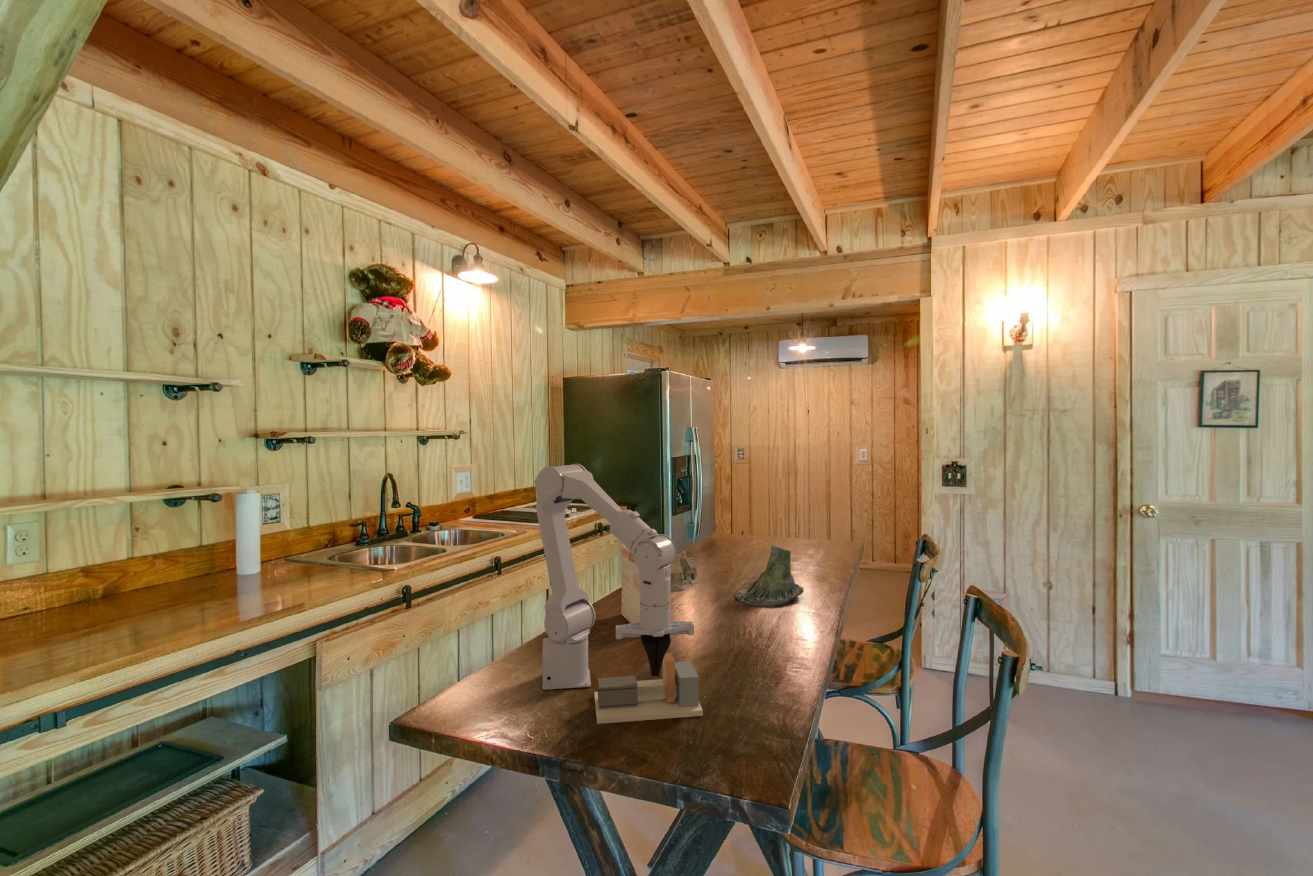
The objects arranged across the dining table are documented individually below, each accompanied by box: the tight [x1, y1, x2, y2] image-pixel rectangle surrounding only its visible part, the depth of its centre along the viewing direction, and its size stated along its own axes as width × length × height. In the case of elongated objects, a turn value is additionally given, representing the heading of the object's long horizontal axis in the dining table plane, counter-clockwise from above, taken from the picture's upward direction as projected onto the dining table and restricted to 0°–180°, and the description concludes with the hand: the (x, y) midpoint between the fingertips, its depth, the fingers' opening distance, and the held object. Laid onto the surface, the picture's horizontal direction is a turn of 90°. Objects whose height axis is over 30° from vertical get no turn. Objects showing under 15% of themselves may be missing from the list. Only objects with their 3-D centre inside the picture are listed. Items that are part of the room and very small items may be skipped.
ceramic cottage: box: [667, 551, 699, 593], centre depth 189 cm, size 16×16×15 cm
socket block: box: [675, 660, 700, 708], centre depth 110 cm, size 4×7×6 cm, turn 9°
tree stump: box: [735, 545, 805, 608], centre depth 176 cm, size 18×20×18 cm
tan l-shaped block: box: [636, 652, 678, 703], centre depth 109 cm, size 12×4×8 cm, turn 99°
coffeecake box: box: [621, 543, 640, 624], centre depth 154 cm, size 15×7×20 cm, turn 22°
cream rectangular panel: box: [593, 675, 704, 725], centre depth 109 cm, size 19×10×5 cm, turn 99°
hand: (654, 674), depth 109 cm, fingers closed
